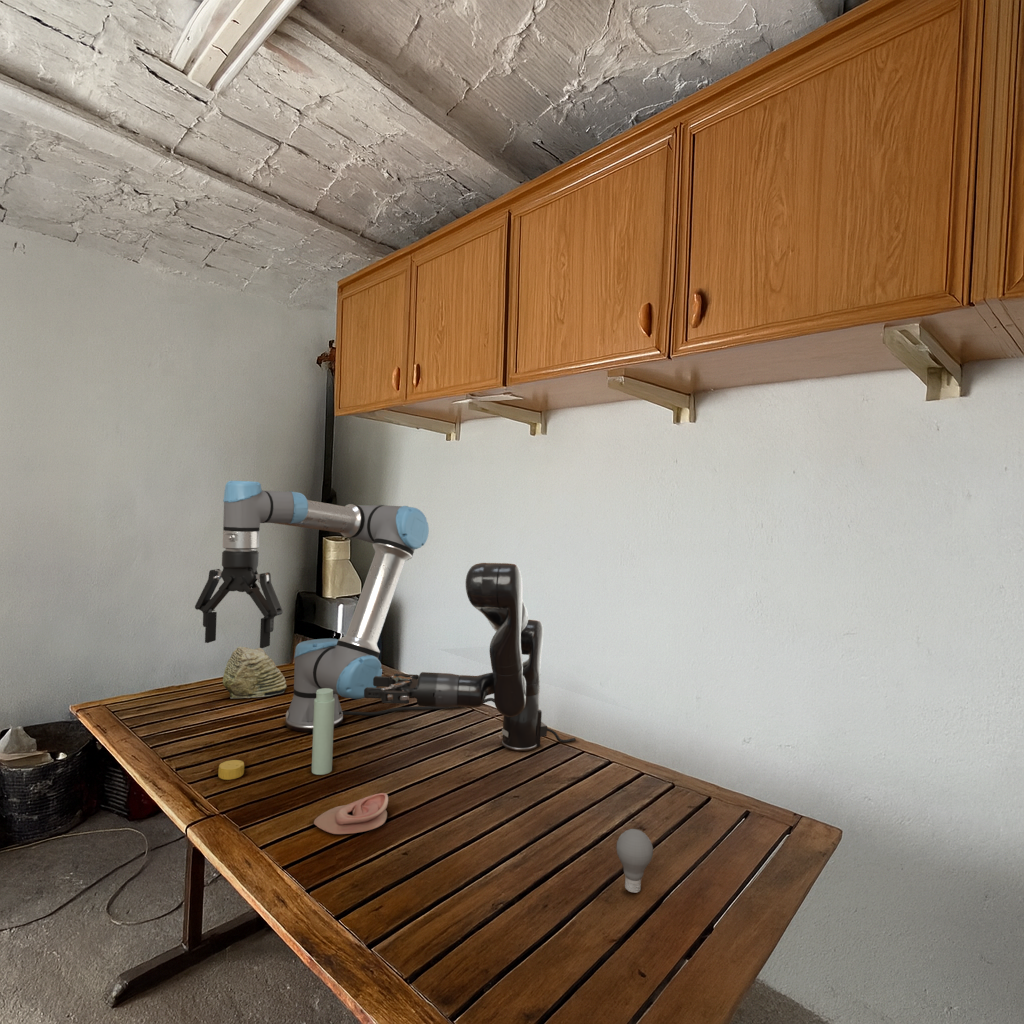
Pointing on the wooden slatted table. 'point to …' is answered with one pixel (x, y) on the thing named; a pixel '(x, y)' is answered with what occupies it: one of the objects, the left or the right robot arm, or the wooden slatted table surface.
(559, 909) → the wooden slatted table surface
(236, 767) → the lid
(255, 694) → the fossil
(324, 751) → the pale green cylindrical bottle
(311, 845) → the wooden slatted table surface
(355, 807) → the anatomical model
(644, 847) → the light bulb
